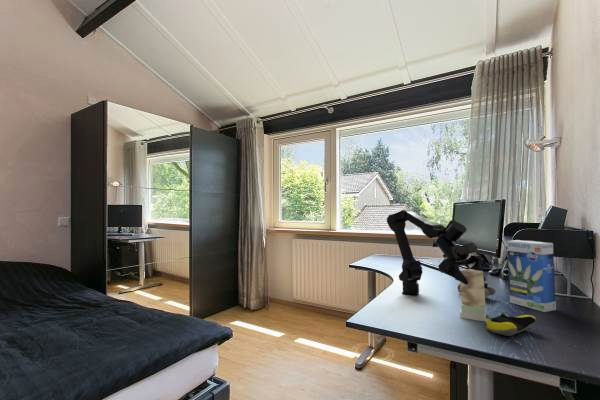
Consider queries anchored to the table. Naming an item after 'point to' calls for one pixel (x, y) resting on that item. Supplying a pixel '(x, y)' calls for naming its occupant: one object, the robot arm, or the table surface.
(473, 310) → the top slab
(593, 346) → the table surface
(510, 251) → the string lights box
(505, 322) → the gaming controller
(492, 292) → the figurine character
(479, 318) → the bottom slab
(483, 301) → the maple block
